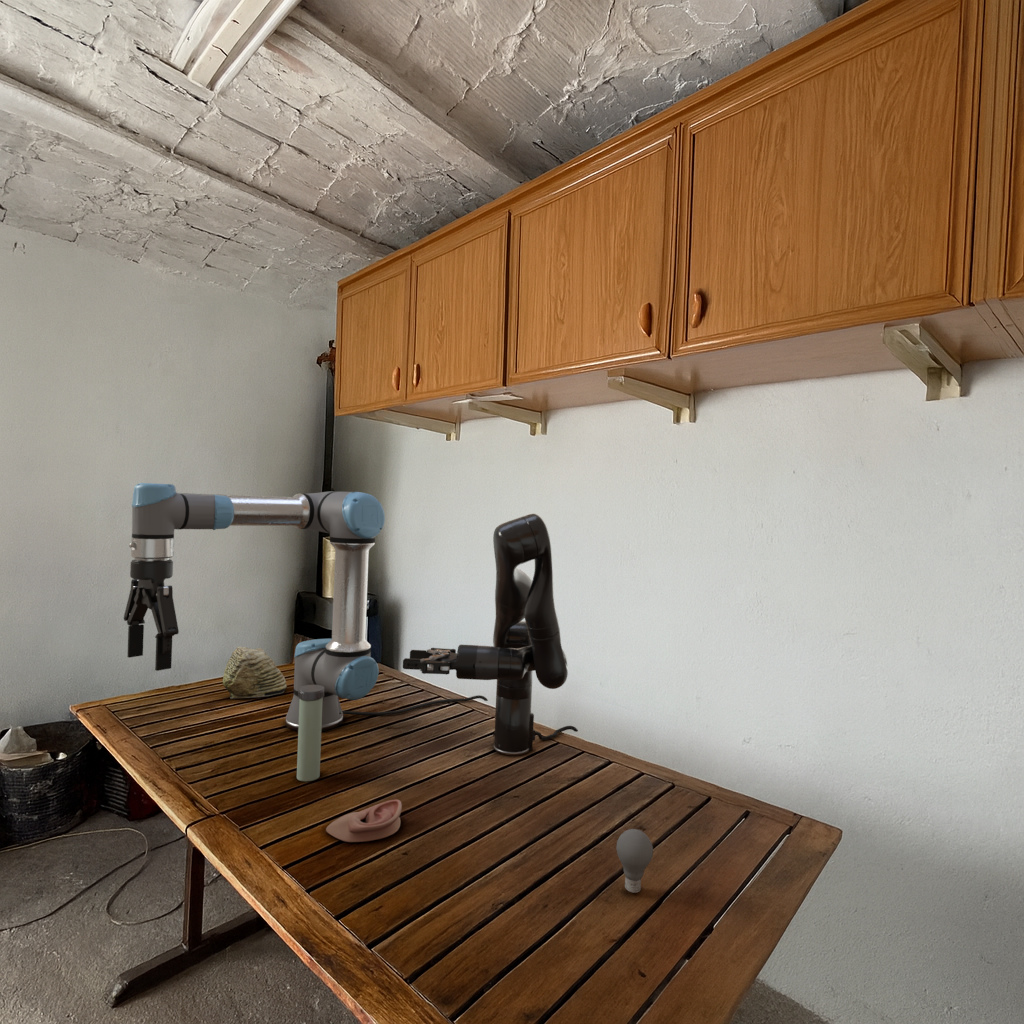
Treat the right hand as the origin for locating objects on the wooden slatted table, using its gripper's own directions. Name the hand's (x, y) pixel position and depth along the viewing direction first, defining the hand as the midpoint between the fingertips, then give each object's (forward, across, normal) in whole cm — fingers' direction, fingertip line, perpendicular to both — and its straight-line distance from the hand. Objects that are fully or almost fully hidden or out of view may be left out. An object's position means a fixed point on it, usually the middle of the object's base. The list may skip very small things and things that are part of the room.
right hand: (406, 659), depth 142 cm
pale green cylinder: (+21, 0, +28) cm, 35 cm away
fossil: (+56, -55, +27) cm, 83 cm away
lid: (+21, 0, +8) cm, 23 cm away
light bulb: (-46, +36, +28) cm, 65 cm away
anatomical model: (+3, +21, +28) cm, 35 cm away
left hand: (+50, +14, 0) cm, 52 cm away
